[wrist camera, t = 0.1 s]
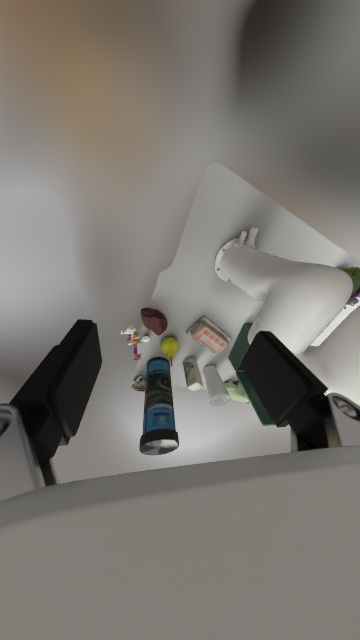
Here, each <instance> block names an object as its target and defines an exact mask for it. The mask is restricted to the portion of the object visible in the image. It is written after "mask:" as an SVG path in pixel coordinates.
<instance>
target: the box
mask: <svg viewBox="0 0 360 640" xmlns="http://www.w3.org/2000/svg"><path fill="white" fill-rule="evenodd" d="M183 366H184V372H185V378H186V384H187V388H188V389H190V390H191V391H195V390H198V389H199V388H201V387H203V384H202V380H201V376H200V372H199V368H198V364H197V361H196V360H195V359H193V358H192V357H190V358H189V359H187V360H185V361H184V362H183Z"/></svg>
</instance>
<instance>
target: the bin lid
mask: <svg viewBox="0 0 360 640" xmlns="http://www.w3.org/2000/svg"><path fill="white" fill-rule="evenodd" d="M236 374H237V376H238V378H239V380H240V382H241V384H242V386H243V388H244V390H245V392H246V394H247V396H248V398H249V400H250V402H251V404H252V406H253V408H254V409H255V411H256V413H257V415H258V417H259V419H260V421H261V423H262V425H263V426H268V425H276V424H275V422H274V421H273V420H272V419H271V418H270V417H269V415H268V413H267V411H266V410H265V408H264V406H263V404H262V403H261V401H260V399H259V397H258V396H257V394H256V392H255V390H254V389H253V387H252V385H251V383H250V382H249V380H248V378H247V376H246V375H245V373H244V371H236Z"/></svg>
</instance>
